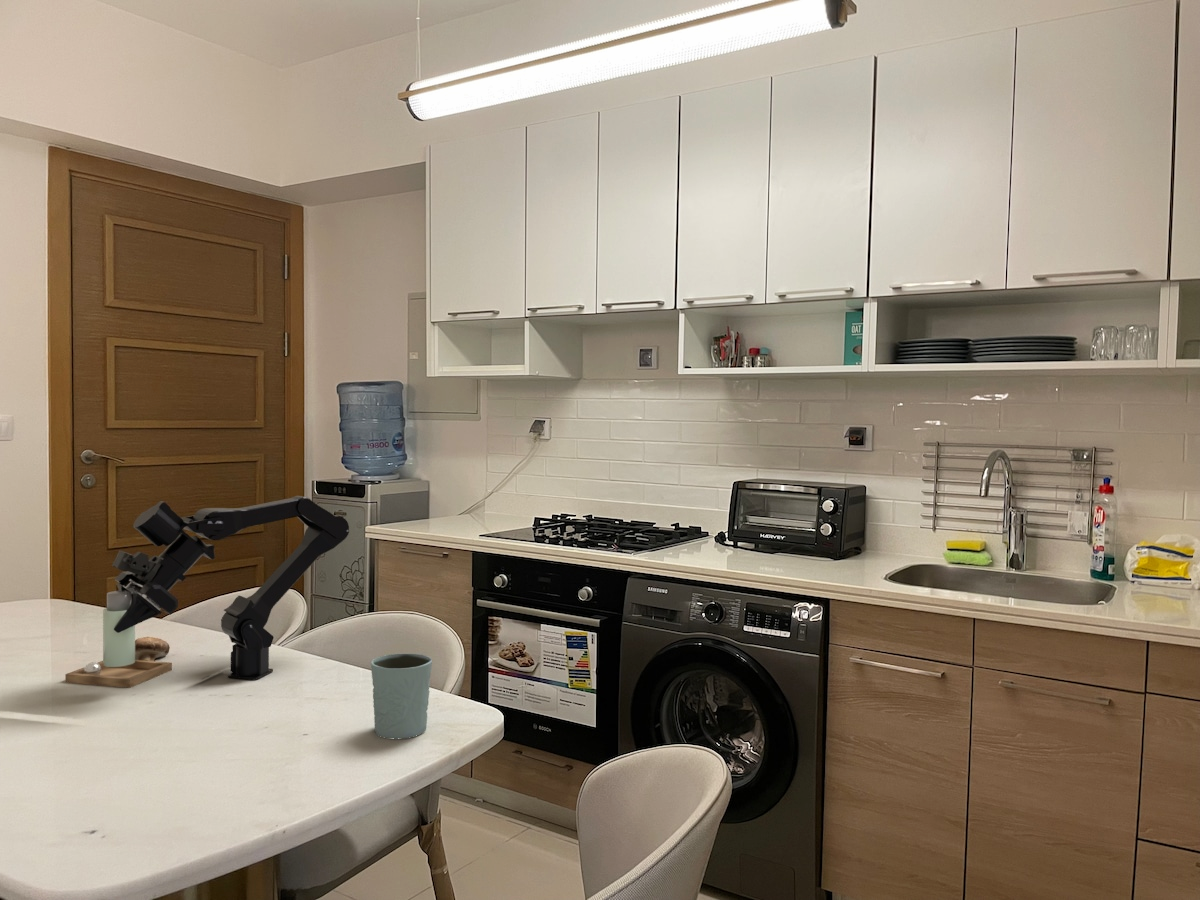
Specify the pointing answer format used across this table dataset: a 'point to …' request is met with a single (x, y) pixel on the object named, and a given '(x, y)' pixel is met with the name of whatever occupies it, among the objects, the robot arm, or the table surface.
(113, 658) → the disc
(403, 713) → the grey-green cup
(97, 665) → the ball
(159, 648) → the mushroom
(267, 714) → the table surface
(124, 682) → the tray
